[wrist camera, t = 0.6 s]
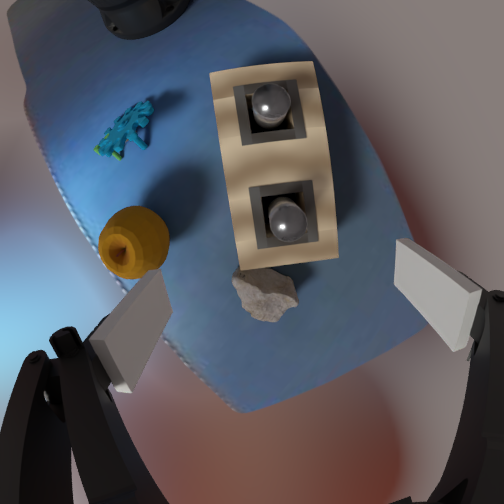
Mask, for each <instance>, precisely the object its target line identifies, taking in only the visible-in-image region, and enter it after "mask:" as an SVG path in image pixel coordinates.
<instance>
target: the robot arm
mask: <svg viewBox="0 0 504 504" xmlns="http://www.w3.org/2000/svg"><path fill="white" fill-rule="evenodd" d="M88 1H89V2H91V3H92V4H93V5H95V6H96V7H97V8H98V9H99V10H100V13H101V16H102V19H103V21H104V24H105V26H106V28H107V29H108V30H109V31H110V32H111V33H112V34H114V35H115V36H117V37H119V38H121V39H127V40H133V39H140V38H144V37H147V36H150V35H153V34H155V33H157V32H159V31H161V30H163V29H164V28H166V27H167V26H169V25H170V24H172V23H173V22H174V21H175V20H176V19H177V18H178V17H179V16H180V15H181V14H182V13H183V12H184V10H185V9H186V7H187V5H188V3H189V0H88ZM394 285H395V286H396V287H397V288H398V289H399V290H400V291H401V292H402V293H403V294H404V296H405V297H406V298H407V299H408V300H409V301H410V302H411V303H412V304H413V305H414V307H415V308H416V309H417V310H418V311H419V312H420V313H421V314H422V316H423V317H424V318H425V319H426V320H427V321H428V322H429V324H430V325H431V326H432V327H433V328H434V329H435V330H436V332H437V333H438V334H439V335H440V336H441V338H442V339H443V340H444V341H445V343H446V344H447V345H448V346H449V347H450V349H451V350H452V351H453V352H454V351H457V350H460V349H462V348H465V347H466V345H467V342H468V339H469V336H471V337H472V338H473V339H474V342H473V345H472V348H471V351H470V353H469V356H468V359H467V361H469V359H470V358H471V361H470V369H469V376H468V382H467V389H466V394H465V400H464V404H463V409H462V413H461V418H460V422H459V425H458V430H457V433H456V437H455V440H454V443H453V447H452V450H451V453H450V456H449V459H448V462H447V464H446V467H445V470H444V472H443V475H442V477H441V480H440V482H439V483H438V485H437V487H436V488H435V490H434V491H433V492H432V494H431V496H430V497H429V499H428V500H427V502H412V500H411V497H410V496H409V497H407V498H404V499H401V500H399V501H396V502H393V503H390V504H504V292H503V291H500V290H493V291H490V292H488V291H486V290H485V289H484V288H483V287H481V286H480V285H478V284H477V283H476V282H473V280H472V279H470V278H468V276H466V275H465V274H463V273H462V272H459V271H457V270H455V269H454V268H452V267H451V266H449V265H448V264H446V263H445V262H444V261H442V260H441V259H439V258H438V257H436V256H435V255H433V254H432V253H430V252H428V251H427V250H425V249H424V248H422V247H421V246H419V245H418V244H416V243H415V242H413V241H411V240H410V239H408V238H404V239H396V261H395V276H394ZM172 313H173V311H172V307H171V304H170V301H169V297H168V294H167V291H166V287H165V284H164V280H163V276H162V273H161V269H156V270H148V271H147V272H146V274H145V275H144V276H143V277H142V278H141V279H140V280H139V281H138V282H137V283H136V285H135V286H134V287H133V288H132V289H131V290H130V291H129V292H128V294H127V295H126V296H125V297H124V298H123V299H122V300H121V302H120V303H119V304H118V305H117V306H116V307H115V309H114V310H113V311H112V312H111V313H110V314H108V315H107V316H106V317H104V318H103V319H102V320H101V321H100V322H99V324H98V326H96V327H95V328H94V331H92V332H91V333H90V334H89V335H88V337H87V338H86V339H85V340H84V342H82V341H81V338H80V336H79V334H78V332H77V330H76V328H74V327H72V326H71V327H65V328H62V329H60V330H58V331H56V332H55V333H54V334H52V336H51V337H50V339H49V342H50V344H51V345H52V347H53V349H54V351H55V353H56V355H57V357H58V358H56V359H49V357H48V356H47V354H46V352H45V351H43V350H38V351H33V352H32V353H30V354H29V355H28V356H27V357H26V358H25V360H24V362H23V364H22V367H21V369H20V372H19V374H18V377H17V380H16V382H15V385H14V388H13V391H12V394H11V397H10V400H9V403H8V406H7V410H6V413H5V417H4V420H3V424H2V427H1V432H0V504H74V503H73V491H72V472H71V447H72V451H73V455H74V458H75V462H76V465H77V469H78V472H79V475H80V478H81V481H82V484H83V487H84V490H85V493H86V496H87V498H88V501H89V504H169V503H168V501H167V500H166V498H165V497H164V495H163V494H162V492H161V491H160V489H159V488H158V486H157V484H156V483H155V481H154V479H153V478H152V476H151V475H150V473H149V471H148V469H147V468H146V466H145V464H144V462H143V461H142V459H141V457H140V455H139V453H138V452H137V449H136V447H135V446H134V444H133V442H132V440H131V438H130V435H129V433H128V431H127V429H126V427H125V425H124V423H123V421H122V418H121V416H120V414H119V411H118V409H117V407H116V404H115V402H114V399H113V397H112V394H111V393H110V391H109V389H108V386H109V385H110V383H111V382H112V384H113V386H114V387H115V389H116V391H117V392H125V393H132V392H133V390H134V388H135V386H136V384H137V382H138V380H139V378H140V376H141V374H142V372H143V369H144V368H145V365H146V363H147V361H148V359H149V357H150V355H151V353H152V351H153V349H154V347H155V345H156V343H157V342H158V339H159V338H160V336H161V334H162V332H163V330H164V328H165V326H166V324H167V322H168V320H169V318H170V316H171V314H172ZM45 398H46V400H47V402H46V400H45Z"/></svg>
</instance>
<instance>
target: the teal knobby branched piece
mask: <svg viewBox="0 0 504 504" xmlns="http://www.w3.org/2000/svg"><path fill="white" fill-rule="evenodd" d="M153 112H154V108H153V107H152V104H151V103H150V102H149V101H146V102H145V103H143V102H139V103H137V105H136V106H135V107H134V109H133V108H132V107H130V108H128V109H127V110H126V111H125V114H124V116H123V117H122V118H121V117H120V116H119V117H118V118H117V119H115V120H114V123H115V126H114V128H113V129H111V128H108V129H107V130H106V132H105V133H104V134H105V135H106V136H105V137H104V138H103V139H102V140H101V141H100V143H99V145H96V146H95V148H94V151H95V152H96V153H98V154H99V155H102V156H103V155H106V156H107V157H110V156H111V155H113V156H114V157H116V158H117V159H118V160H119V161H120V160H121V159H122V156H121V155H119V154H118V153H117V152H119V151H121V150H123V148H124V144H125V142H127V141H128V140H130V141H132V140H133V141H134V142H135V143H136V144H137V145H138V146H139V147H140V148H141V149H142V150H145V149H146V148H147V146H148V145H147V144H146V143H145V142H144V141H143V140H142V139H141V138H140V137H139V136H138V134H137V133H136V132H137V131H136V128H137V127H138V126H139V125H140V126H141V127H142V128H144V127H145V126H146V125H147V124H148V122H149V120H148V119H147V118H146V117H144V116H150V115H152V113H153Z"/></svg>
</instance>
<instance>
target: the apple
mask: <svg viewBox="0 0 504 504" xmlns="http://www.w3.org/2000/svg"><path fill="white" fill-rule="evenodd" d="M169 245H170V236H169V231H168V228H167V226H166V224H165V222H164V221H163V220H162V218H161V217H160V216H159V215H157V214H156V213H155V212H153V211H152V210H150V209H148V208H145V207H142V206H130V207H126V208H124V209H122V210H120V211H118V212H117V213H115V214H114V215H113V216H112V217H111V218H110V219H109V220H108V222H107V224H106V225H105V227H104V229H103V230H102V232H101V234H100V236H99V244H98V250H99V254H100V257H101V260H102V261H103V263H104V264H105V266H106V267H107V269H109V270H110V271H112V272H113V273H114V274H116V275H117V276H119V277H122V278H125V279H138V278H142V277H143V276H144V275H145V274H146V272H147V271H148V270H156V269H158V268H159V267H160V266H161V265H162V264H163V263H164V261H165V260H166V257H167V254H168V250H169Z"/></svg>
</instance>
